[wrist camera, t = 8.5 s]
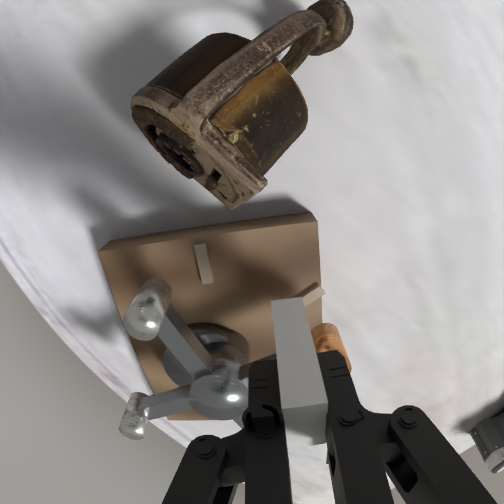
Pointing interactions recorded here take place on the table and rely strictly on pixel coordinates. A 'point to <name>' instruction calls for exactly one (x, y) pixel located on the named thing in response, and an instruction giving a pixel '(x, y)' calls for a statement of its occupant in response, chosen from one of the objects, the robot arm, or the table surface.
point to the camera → (491, 442)
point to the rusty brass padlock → (237, 101)
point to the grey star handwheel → (196, 362)
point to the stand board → (220, 280)
